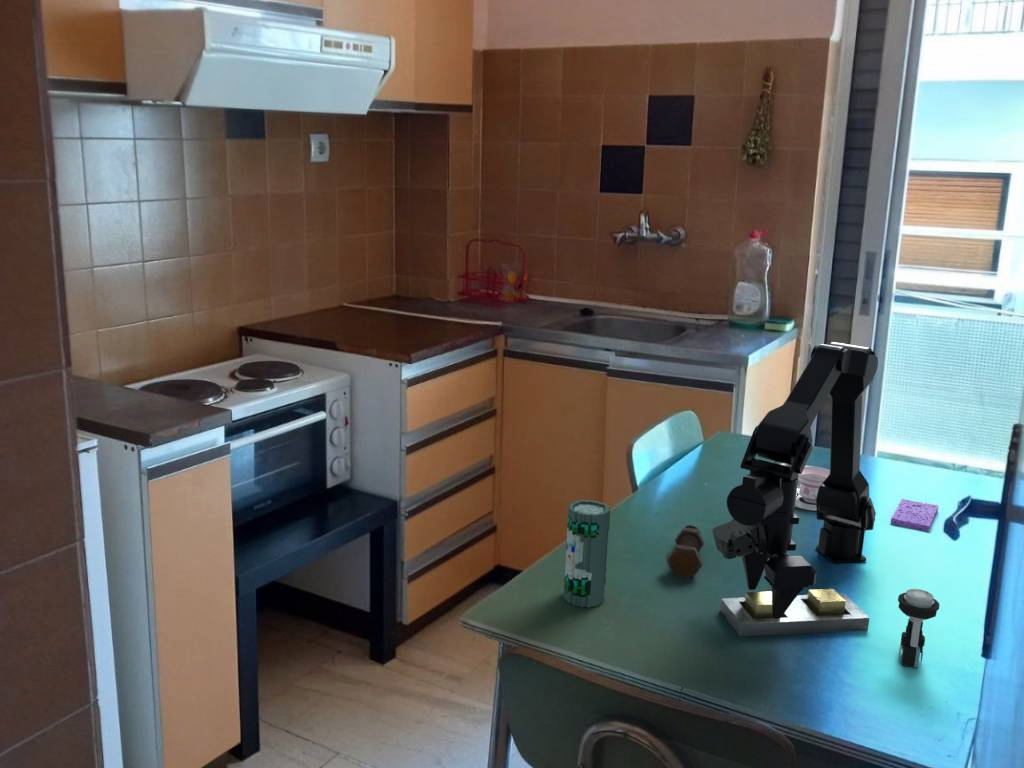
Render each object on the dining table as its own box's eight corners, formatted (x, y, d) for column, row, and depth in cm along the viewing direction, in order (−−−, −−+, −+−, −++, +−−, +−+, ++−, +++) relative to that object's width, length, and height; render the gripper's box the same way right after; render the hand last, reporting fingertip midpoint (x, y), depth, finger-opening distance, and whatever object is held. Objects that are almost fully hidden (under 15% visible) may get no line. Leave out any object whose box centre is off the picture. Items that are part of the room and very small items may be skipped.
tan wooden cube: (830, 612, 152) (833, 588, 151) (842, 625, 148) (845, 600, 147) (805, 613, 151) (808, 589, 150) (817, 626, 148) (820, 601, 147)
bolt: (694, 553, 177) (686, 585, 162) (670, 536, 177) (661, 567, 163) (713, 528, 175) (707, 559, 161) (689, 511, 175) (681, 541, 161)
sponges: (937, 513, 196) (938, 505, 195) (928, 534, 185) (930, 525, 185) (900, 506, 199) (901, 497, 199) (889, 526, 188) (890, 517, 188)
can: (557, 592, 155) (562, 502, 151) (592, 586, 157) (597, 498, 154) (575, 609, 150) (580, 517, 146) (610, 603, 152) (616, 512, 148)
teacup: (849, 500, 201) (853, 471, 199) (831, 517, 191) (835, 487, 189) (791, 486, 207) (795, 458, 206) (771, 502, 197) (775, 473, 196)
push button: (888, 642, 143) (897, 579, 141) (927, 649, 142) (937, 585, 139) (891, 665, 137) (900, 599, 135) (932, 672, 136) (942, 606, 133)
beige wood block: (768, 615, 150) (771, 591, 149) (779, 628, 147) (782, 603, 146) (743, 616, 150) (746, 592, 149) (754, 629, 146) (756, 604, 145)
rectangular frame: (842, 605, 154) (843, 593, 154) (867, 630, 147) (869, 617, 146) (720, 610, 151) (721, 598, 151) (740, 636, 144) (741, 623, 143)
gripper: (699, 484, 151) (691, 578, 155) (746, 532, 133) (736, 637, 137) (768, 482, 153) (758, 575, 157) (824, 530, 135) (811, 633, 139)
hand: (763, 603), depth 147 cm, fingers open, 9 cm apart
